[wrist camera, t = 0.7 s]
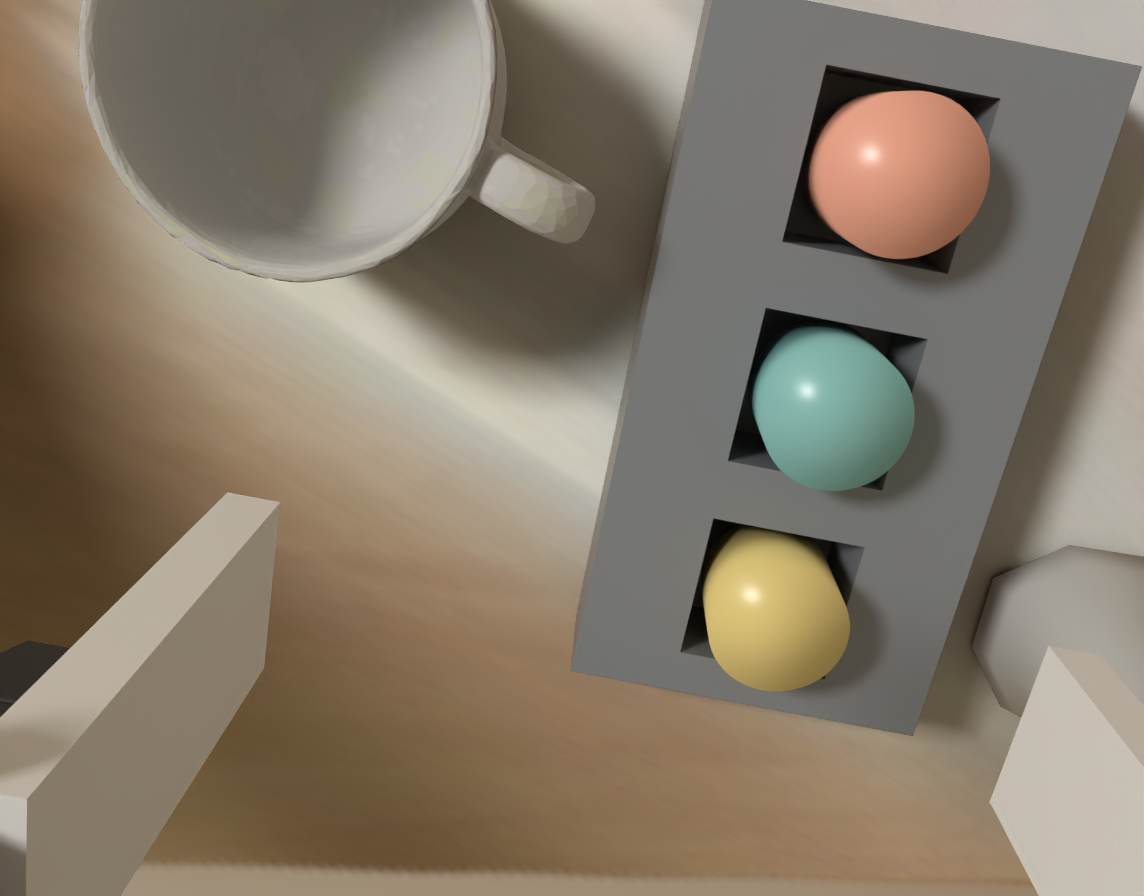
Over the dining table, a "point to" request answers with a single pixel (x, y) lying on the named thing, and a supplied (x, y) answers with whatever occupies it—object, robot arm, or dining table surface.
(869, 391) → the teal button
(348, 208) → the teacup
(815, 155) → the salmon orange ball
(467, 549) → the dining table surface
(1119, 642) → the flask
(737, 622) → the mustard button
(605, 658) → the console
